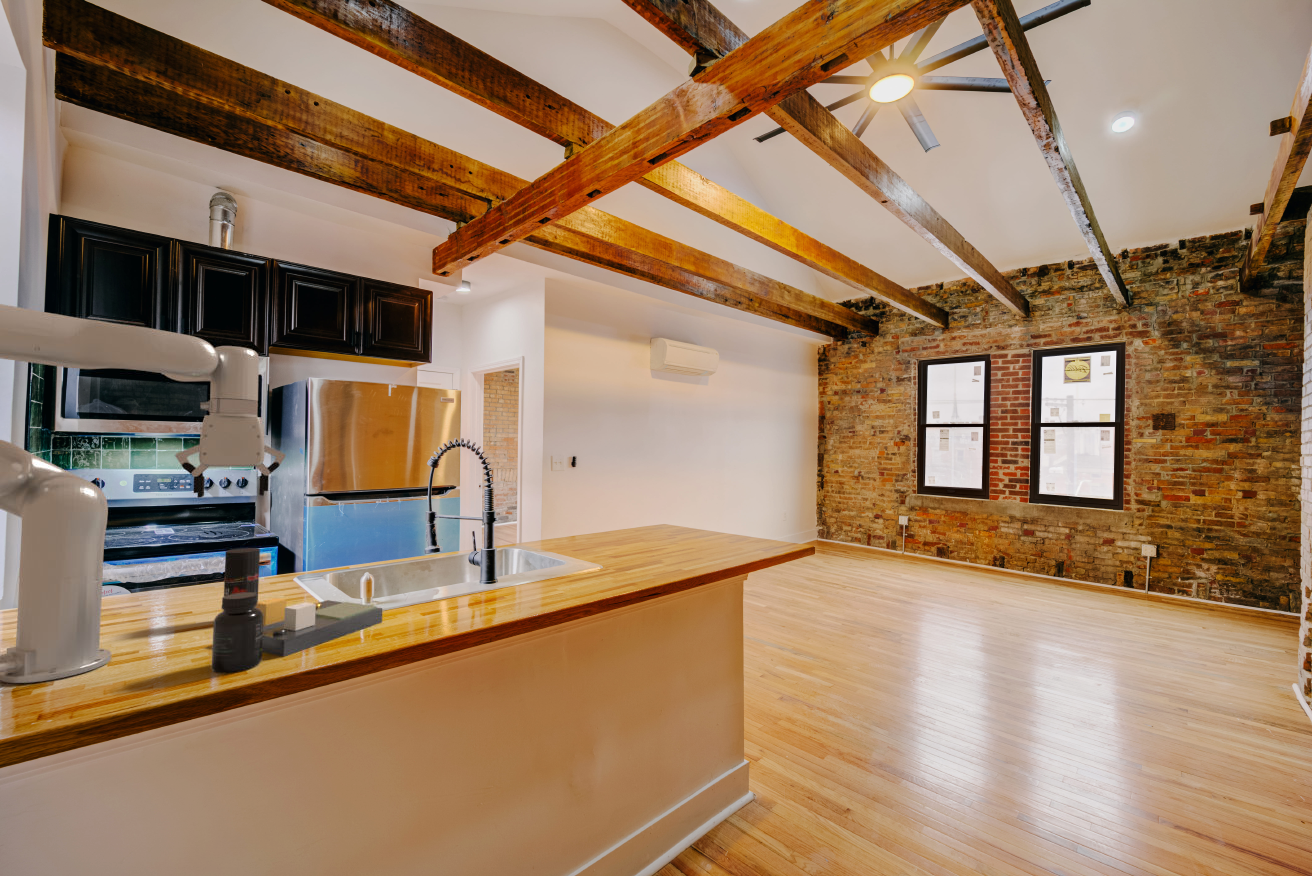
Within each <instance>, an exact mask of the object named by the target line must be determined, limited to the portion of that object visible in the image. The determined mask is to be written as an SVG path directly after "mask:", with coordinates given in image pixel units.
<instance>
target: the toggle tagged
mask: <svg viewBox="0 0 1312 876" xmlns="http://www.w3.org/2000/svg"><path fill="white" fill-rule="evenodd" d="M255 607H256V608H258V609H260V610H261V611H262V612H263V625H267V624H270V623H274V622H277V621H281V620H284V617H285V607H287V599H286V598H285V599H284V598H280V597H279V598H278V597H274V598H269V599H266V600H265V599H264V600H262V601H258V603H257V605H256V606H255Z"/></svg>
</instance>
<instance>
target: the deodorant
mask: <svg viewBox="0 0 1312 876" xmlns="http://www.w3.org/2000/svg"><path fill="white" fill-rule="evenodd" d="M260 553H261V549H260V548H258V547H257V548H256V547H245V548H242V547H241V548H234V549H233V548H232V549H227V550H226V551H225V559H224V561H225V562H224V582H223V597H224V596H226V595H230V594H235V593H244V592H253V593H257V601H258V600H259V583H260V582H259V581H260V580H259V579H260V557H261V556H260V555H261V554H260ZM258 602H259V601H258Z"/></svg>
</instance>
